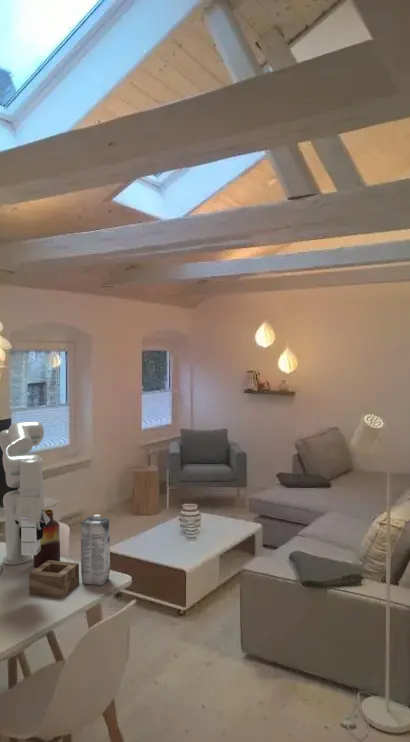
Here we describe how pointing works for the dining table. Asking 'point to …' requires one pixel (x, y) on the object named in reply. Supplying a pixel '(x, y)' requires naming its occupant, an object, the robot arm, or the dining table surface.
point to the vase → (49, 542)
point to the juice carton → (95, 550)
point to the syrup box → (29, 538)
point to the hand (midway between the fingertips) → (31, 537)
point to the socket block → (54, 578)
